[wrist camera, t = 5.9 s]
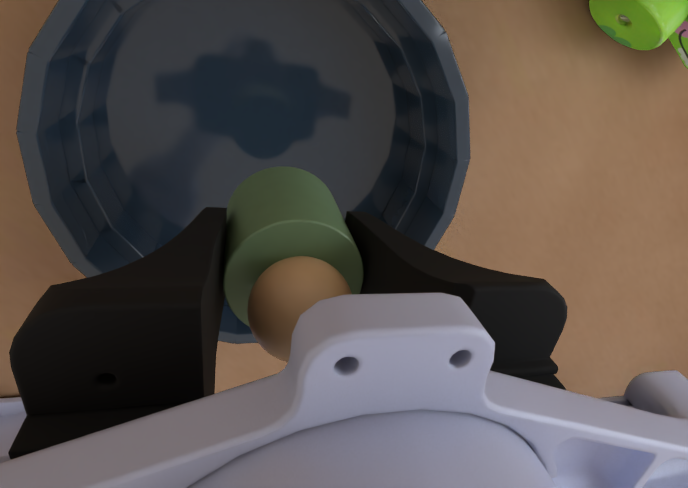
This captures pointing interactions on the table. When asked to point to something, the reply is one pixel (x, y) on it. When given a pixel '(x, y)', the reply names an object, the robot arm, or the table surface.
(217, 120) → the bowl
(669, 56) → the table surface
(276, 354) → the green cylinder with ball
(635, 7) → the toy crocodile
